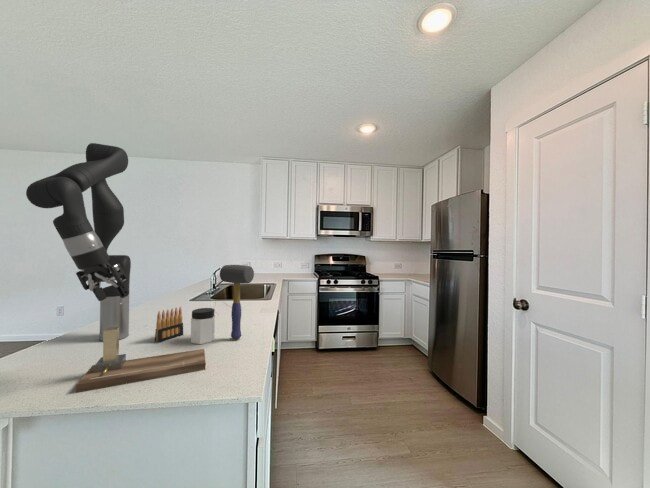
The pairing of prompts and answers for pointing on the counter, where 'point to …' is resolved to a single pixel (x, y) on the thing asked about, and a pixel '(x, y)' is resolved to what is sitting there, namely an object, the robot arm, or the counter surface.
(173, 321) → the ammunition clip
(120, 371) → the walnut board
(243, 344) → the counter surface
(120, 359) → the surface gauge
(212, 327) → the jar
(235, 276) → the rubber mallet
